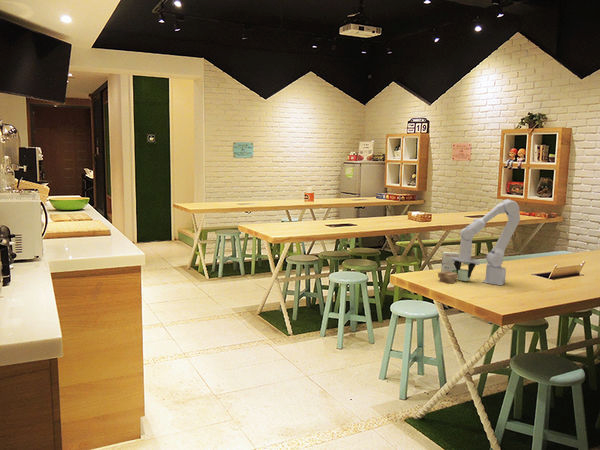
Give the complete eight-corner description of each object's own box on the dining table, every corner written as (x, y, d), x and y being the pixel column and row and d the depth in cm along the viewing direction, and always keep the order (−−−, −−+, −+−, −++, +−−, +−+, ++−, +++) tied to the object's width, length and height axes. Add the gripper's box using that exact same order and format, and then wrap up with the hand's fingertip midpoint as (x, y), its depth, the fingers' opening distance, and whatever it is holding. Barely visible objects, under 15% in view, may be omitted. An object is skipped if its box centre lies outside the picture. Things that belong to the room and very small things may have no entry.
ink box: (442, 273, 283) (443, 253, 281) (440, 271, 288) (442, 251, 286) (458, 274, 282) (459, 253, 280) (456, 272, 287) (457, 252, 286)
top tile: (457, 278, 266) (457, 273, 265) (449, 279, 261) (449, 275, 261) (445, 275, 271) (446, 270, 271) (437, 277, 266) (438, 272, 266)
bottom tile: (455, 281, 268) (456, 277, 268) (453, 284, 262) (453, 279, 261) (442, 279, 271) (442, 275, 271) (439, 282, 265) (439, 278, 265)
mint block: (469, 279, 269) (470, 270, 268) (466, 281, 265) (467, 271, 264) (460, 277, 272) (461, 268, 271) (457, 279, 268) (457, 270, 267)
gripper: (449, 250, 267) (447, 275, 269) (477, 254, 259) (475, 280, 261) (454, 248, 273) (452, 273, 275) (481, 252, 264) (479, 277, 266)
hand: (463, 276), depth 268 cm, fingers closed on mint block, 5 cm apart
